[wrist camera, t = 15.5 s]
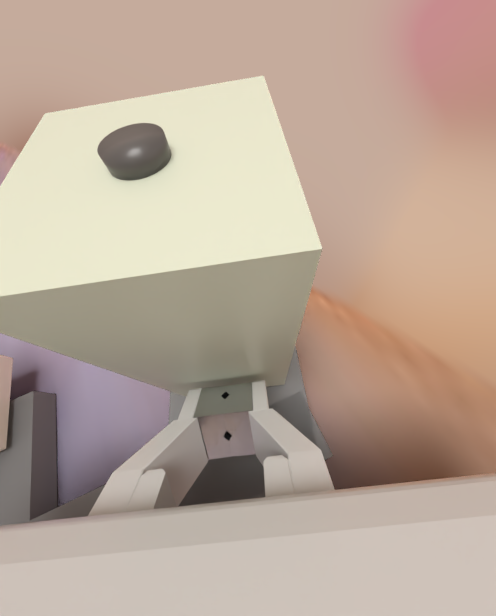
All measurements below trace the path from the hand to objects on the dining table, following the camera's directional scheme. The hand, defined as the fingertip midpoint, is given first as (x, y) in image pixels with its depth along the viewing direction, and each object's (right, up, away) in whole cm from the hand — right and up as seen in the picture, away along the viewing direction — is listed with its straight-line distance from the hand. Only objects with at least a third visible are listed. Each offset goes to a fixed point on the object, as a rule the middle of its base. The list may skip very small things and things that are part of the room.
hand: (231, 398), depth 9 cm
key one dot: (0, +2, +4) cm, 4 cm away
